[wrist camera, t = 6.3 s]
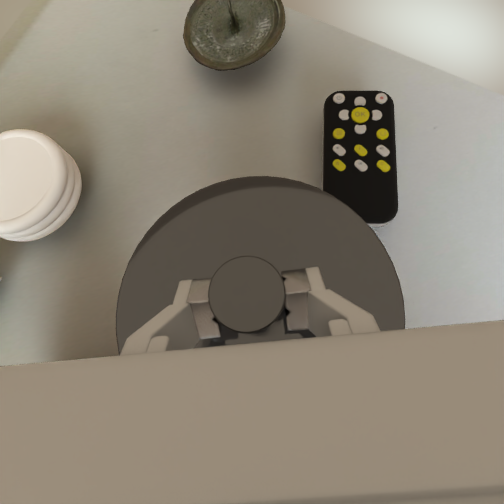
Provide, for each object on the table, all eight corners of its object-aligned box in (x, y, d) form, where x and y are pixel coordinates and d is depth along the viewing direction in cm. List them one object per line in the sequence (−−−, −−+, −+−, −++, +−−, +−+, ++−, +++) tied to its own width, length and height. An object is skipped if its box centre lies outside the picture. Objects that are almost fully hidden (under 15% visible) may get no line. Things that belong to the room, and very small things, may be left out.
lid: (299, 37, 37) (307, -17, 33) (252, 88, 33) (252, 34, 29) (218, 8, 40) (214, -46, 35) (164, 52, 36) (152, -3, 31)
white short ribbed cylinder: (63, 252, 32) (37, 241, 28) (-32, 233, 33) (-68, 220, 30) (98, 155, 34) (77, 134, 31) (7, 140, 35) (-22, 119, 32)
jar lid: (326, 524, 15) (357, 646, 9) (75, 370, 17) (-32, 384, 11) (438, 250, 18) (521, 202, 12) (206, 149, 20) (174, 67, 14)
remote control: (320, 226, 30) (323, 218, 28) (322, 101, 33) (325, 86, 32) (393, 229, 30) (401, 221, 28) (388, 101, 33) (395, 86, 31)
